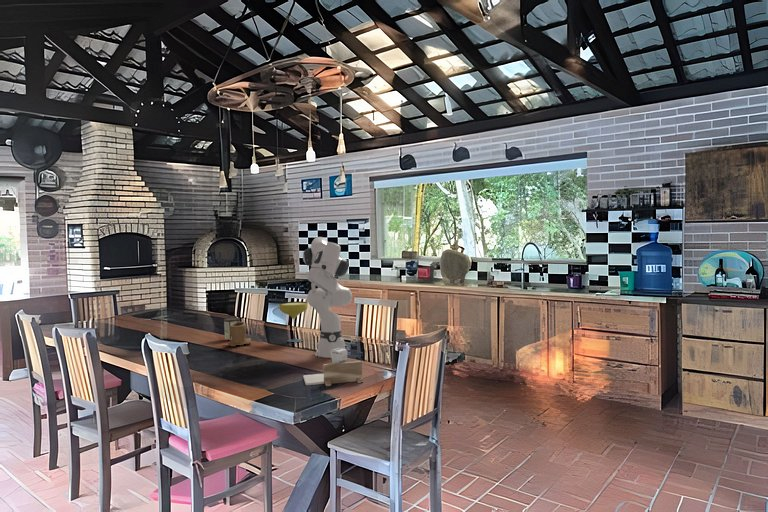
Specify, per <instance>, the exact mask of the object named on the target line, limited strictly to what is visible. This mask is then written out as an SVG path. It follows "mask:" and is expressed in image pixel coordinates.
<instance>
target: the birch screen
mask: <svg viewBox="0 0 768 512" xmlns="http://www.w3.org/2000/svg"><path fill="white" fill-rule="evenodd" d="M322 367H323V374H324V384H323V385H325V386H326V387H330V386H332V384H341V383H351V382H353V383H354V382H357V383H358V384H360V383H361V382H363V383H364V379H363V362H362V360H358V361H357V360H356V361H347V362H344V363H332V364H331V363H324V364H323V365H322Z"/></svg>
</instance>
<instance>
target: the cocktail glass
mask: <svg viewBox="0 0 768 512" xmlns="http://www.w3.org/2000/svg"><path fill="white" fill-rule="evenodd" d="M278 306H279V307H278V309H279V310H280V312H281V313H284V314H285V315H287V316H289V317H291V319H292V320H293V338H292V339H287V341H289V342H299V343H301V342H300V341H302V342H303V341H304V340H303V339H299V338H296V329H295V328H296V326H295V325H296V324H295V319H296V318H297V316H299V315H300V314H303V312H305V311H306V310H307V309H308V306H309V304H308V301H307V302H306V301H285V302H280V303H279V305H278Z"/></svg>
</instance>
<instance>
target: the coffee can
mask: <svg viewBox="0 0 768 512" xmlns="http://www.w3.org/2000/svg"><path fill="white" fill-rule="evenodd" d="M236 322H241V321H240V317H227V318H224V319H223V327H224V329H223V330H224V340H225V339H232V337H231V335H230V329H229V328H230V325H231V324H232V323H236Z"/></svg>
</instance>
